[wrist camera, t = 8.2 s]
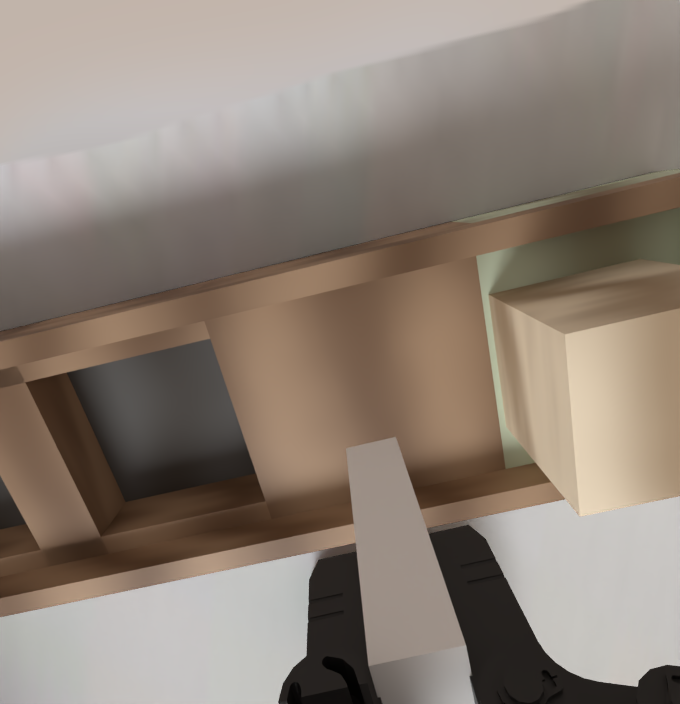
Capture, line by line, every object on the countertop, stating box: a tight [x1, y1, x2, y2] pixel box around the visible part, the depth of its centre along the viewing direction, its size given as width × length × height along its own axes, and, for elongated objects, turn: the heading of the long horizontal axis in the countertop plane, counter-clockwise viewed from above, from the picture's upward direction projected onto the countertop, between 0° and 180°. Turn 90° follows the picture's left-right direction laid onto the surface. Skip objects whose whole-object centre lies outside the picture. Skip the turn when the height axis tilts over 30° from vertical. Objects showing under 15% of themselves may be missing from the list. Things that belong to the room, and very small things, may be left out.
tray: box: [0, 169, 680, 617], centre depth 19 cm, size 40×12×7 cm, turn 103°
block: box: [488, 259, 680, 517], centre depth 15 cm, size 6×6×6 cm
